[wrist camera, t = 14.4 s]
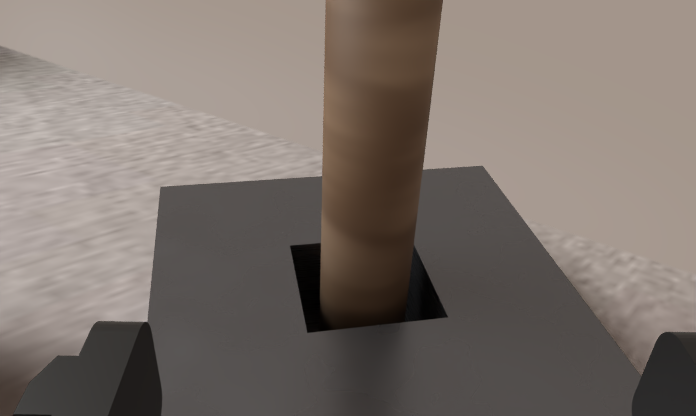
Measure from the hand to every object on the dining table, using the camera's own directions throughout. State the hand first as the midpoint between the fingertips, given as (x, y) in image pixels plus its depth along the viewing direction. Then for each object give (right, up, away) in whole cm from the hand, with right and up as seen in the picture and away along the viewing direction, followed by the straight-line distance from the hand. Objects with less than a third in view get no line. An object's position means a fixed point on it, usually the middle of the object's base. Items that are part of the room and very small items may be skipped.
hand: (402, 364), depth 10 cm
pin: (0, -4, +14) cm, 15 cm away
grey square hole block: (-1, -4, +14) cm, 15 cm away
